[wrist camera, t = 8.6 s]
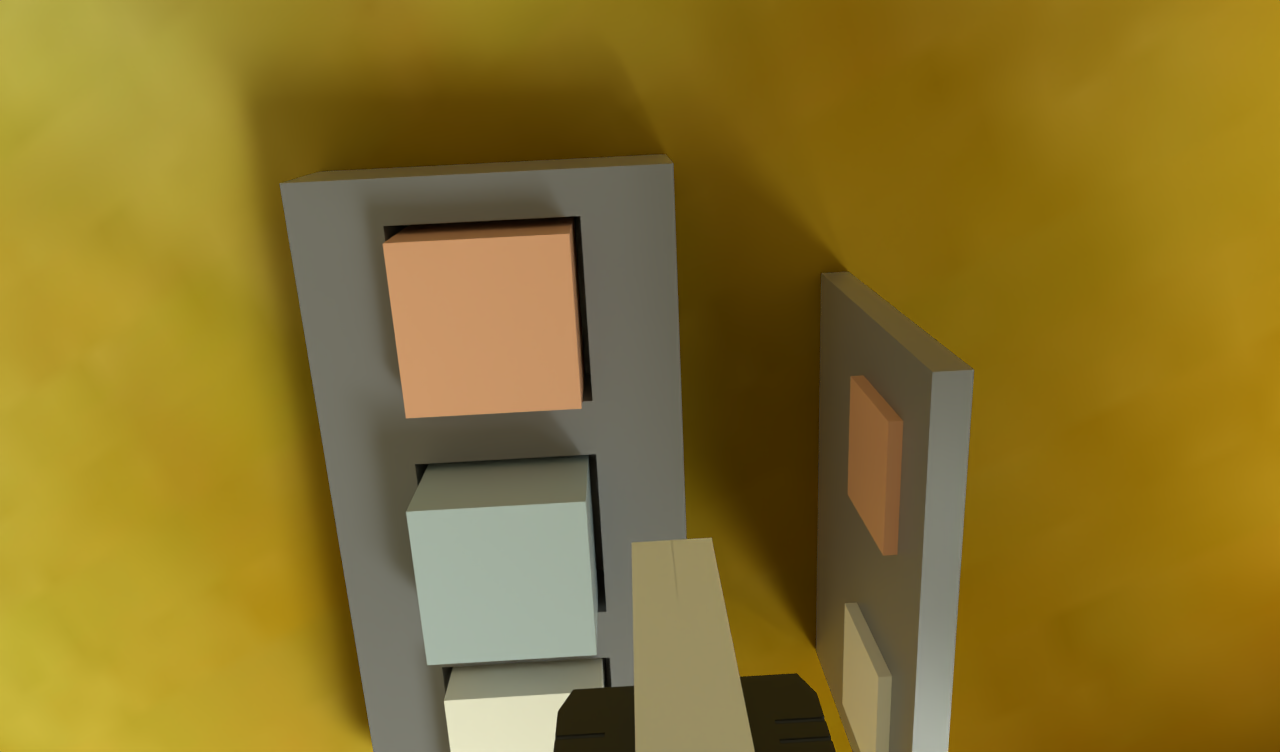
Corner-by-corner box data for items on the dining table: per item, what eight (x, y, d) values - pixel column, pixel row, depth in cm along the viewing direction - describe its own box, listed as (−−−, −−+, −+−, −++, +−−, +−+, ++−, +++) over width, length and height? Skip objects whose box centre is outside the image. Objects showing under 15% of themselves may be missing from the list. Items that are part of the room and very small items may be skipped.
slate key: (598, 590, 33) (596, 655, 30) (447, 598, 33) (427, 665, 30) (588, 451, 32) (585, 501, 28) (430, 460, 32) (405, 511, 28)
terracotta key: (584, 370, 32) (581, 408, 29) (429, 378, 32) (405, 418, 29) (574, 215, 31) (569, 233, 27) (410, 223, 31) (382, 243, 27)
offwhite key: (610, 743, 37) (610, 817, 34) (475, 751, 37) (460, 827, 33) (602, 626, 36) (601, 691, 32) (461, 634, 36) (443, 700, 32)
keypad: (837, 738, 39) (930, 1004, 28) (409, 764, 39) (327, 1045, 28) (851, 144, 32) (987, 178, 20) (319, 171, 32) (154, 220, 20)
